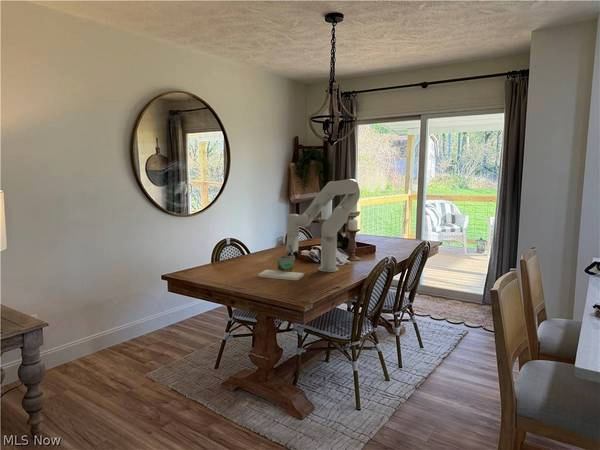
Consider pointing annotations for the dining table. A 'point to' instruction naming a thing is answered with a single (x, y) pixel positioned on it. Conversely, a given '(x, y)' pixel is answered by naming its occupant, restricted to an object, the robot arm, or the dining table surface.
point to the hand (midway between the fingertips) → (292, 260)
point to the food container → (286, 263)
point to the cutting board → (281, 275)
